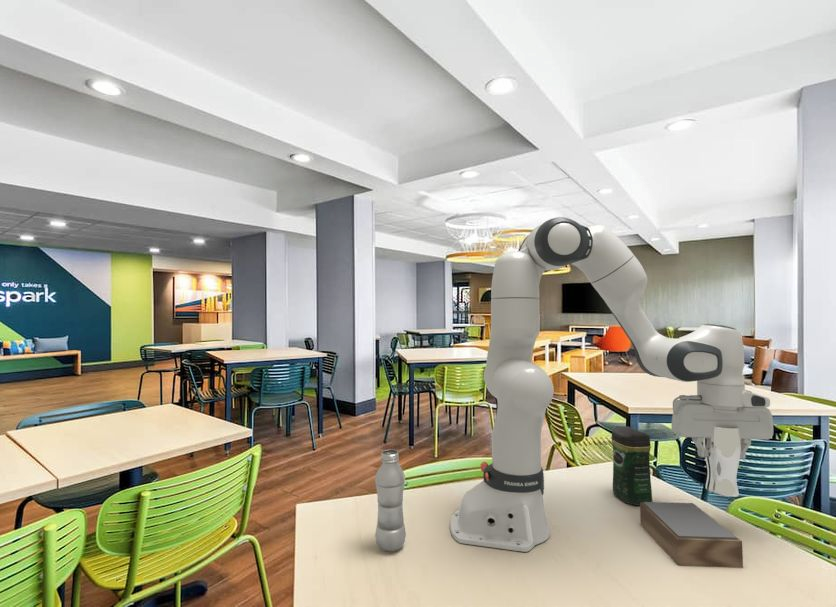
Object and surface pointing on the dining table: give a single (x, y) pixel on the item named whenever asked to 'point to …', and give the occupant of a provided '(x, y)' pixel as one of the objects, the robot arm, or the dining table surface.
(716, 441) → the beer glass
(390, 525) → the plastic bottle
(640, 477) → the coffee jar
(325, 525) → the dining table surface
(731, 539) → the walnut plinth
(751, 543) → the dining table surface
